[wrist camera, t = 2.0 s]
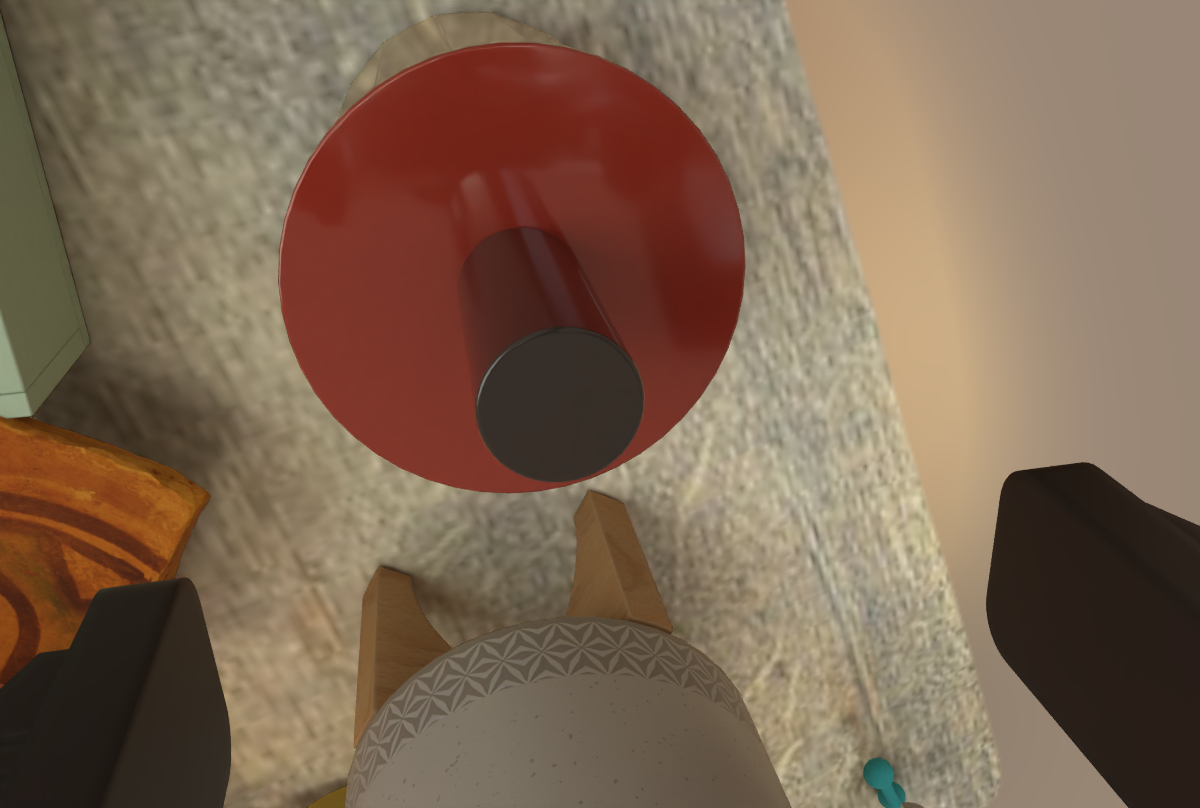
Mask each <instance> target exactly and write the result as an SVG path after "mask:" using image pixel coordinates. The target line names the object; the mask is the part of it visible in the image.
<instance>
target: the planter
mask: <svg viewBox="0 0 1200 808" xmlns="http://www.w3.org/2000/svg"><path fill="white" fill-rule="evenodd" d="M574 522H575V526H576V535H577V556H576V567H575V575H574V582H573V589H572V594H571V598H570V603H569V608H568V612H567V615H566V617H558V618H551V619H544V620H537V621H529V622H525V623H521V624H517V625H514V626H510V627H506V628H502V629H499V630H495V631H492V632H490V633H488V634H485V635H483V636H480V637H478V638H475V639H473V640H470V641H468V642H465V643H463V644H461V645H459V646H458V647H456V648H454V649H453V648H452V647H451V646H450V645H449V644H448V643H447V642H446V641H445V640H444V639H443V638H442V637H441V636H440V635H439V634H438V633H437V632H436V630H435V629H434V628H433V627H432V626H431V624H430V623H429V622H428V620H427V619H426V617H425V616H424V614H423V613H422V611H421V609H420V607H419V605H418V603H417V601H416V599H415V596H414V593H413V590H412V587H411V577H410V576H407V575H404V574H401V573H398V572H394V571H391V570H388V569H385V568H382V567H378V568H377V570H376V572H375V574H374V576H373V578H372V580H371V582H370V584H369V586H368V588H367V590H366V592H365V594H364V596H363V604H362V620H361V636H360V651H359V667H358V683H357V699H356V715H355V731H354V748H356V751H355V755H354V758H353V761H352V764H351V767H350V770H349V774H348V783H347V791H346V801H345V808H792V807H791V805H790V803H789V800H788V798H787V796H786V794H785V792H784V789H783V787H782V785H781V783H780V780H779V778H778V776H777V774H776V771H775V769H774V767H773V765H772V763H771V760H770V758H769V756H768V754H767V751H766V749H765V747H764V745H763V743H762V740H761V738H760V736H759V734H758V731H757V729H756V727H755V725H754V722H753V720H752V718H751V716H750V714H749V711H748V709H747V707H746V705H745V703H744V701H743V699H742V697H741V695H740V693H739V691H738V690H737V688H736V687H735V686H734V684H733V683H732V682H731V680H730V679H729V678H728V676H727V675H726V674H725V673H724V671H723V670H722V669H721V668H719V667H718V666H717V665H716V664H715V663H714V662H713V661H712V660H711V659H709V658H708V657H707V656H706V655H705V654H704V653H702V652H701V651H699V650H698V649H696V648H694V647H693V646H691V645H690V644H688V643H686V642H685V641H683V640H682V639H680V638H677V637H675V636H673V635H671V633H672V632H673V627H672V625H671V622H670V620H669V617H668V615H667V612H666V610H665V607H664V605H663V602H662V599H661V597H660V594H659V592H658V589H657V587H656V584H655V582H654V579H653V577H652V574H651V571H650V569H649V566H648V564H647V561H646V559H645V556H644V554H643V551H642V549H641V546H640V543H639V541H638V538H637V536H636V533H635V531H634V528H633V526H632V523H631V521H630V518H629V515H628V513H627V510H626V508H625V505H624V504H623V503H622V502H619V501H616V500H614V499H611V498H608V497H606V496H603V495H601V494H598V493H595V492H593V491H588V492H587V494H586V496H585V497H584V499H583V501H582V503H581V505H580V506H579V508H578V510H577V512H576V514H575V515H574Z"/></svg>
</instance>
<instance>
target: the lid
mask: <svg viewBox="0 0 1200 808" xmlns="http://www.w3.org/2000/svg"><path fill="white" fill-rule="evenodd" d="M744 278H745V248H744V235H743V230H742V224H741V219H740V214H739V209H738V206H737V203H736V200H735V197H734V194H733V191H732V187H731V184H730V181H729V179H728V177H727V175H726V173H725V171H724V169H723V167H722V165H721V163H720V161H719V159H718V157H717V155H716V153H715V152H714V150H713V149H712V147H711V146H710V144H709V143H708V141H707V140H706V138H705V137H704V136H703V134H702V133H701V131H700V130H699V128H698V127H697V126H696V125H695V124H694V123H693V122H692V121H691V120H690V118H689V117H688V116H687V115H686V114H685V113H684V112H683V111H682V110H681V108H680V107H679V106H678V105H676V104H675V103H674V102H673V101H672V100H670V99H669V98H668V97H667V96H666V95H664V94H663V93H662V92H661V91H660V90H659V89H657V88H656V87H655V86H653V85H652V84H650V83H649V82H647V81H645V80H644V79H642V78H641V77H639V76H637V75H636V74H634V73H633V72H631V71H629V70H628V69H626V68H624V67H622V66H620V65H618V64H615V63H613V62H611V61H609V60H607V59H604V58H602V57H600V56H598V55H595V54H592V53H589V52H585V51H582V50H578V49H575V48H572V47H568V46H565V45H558V44H551V43H544V42H538V41H502V40H499V41H491V42H484V43H476V44H469V45H464V46H460V47H457V48H453V49H450V50H446V51H442V52H439V53H435V54H433V55H430V56H428V57H426V58H423V59H421V60H419V61H417V62H414V63H412V64H410V65H407V66H405V67H403V68H401V69H400V70H398V71H397V72H395V73H393V74H392V75H390V76H388V77H387V78H385V79H384V80H382V81H380V82H379V83H377V84H375V85H374V86H373V87H372V88H371V89H369V90H368V91H367V92H366V93H365V94H363V95H362V96H361V97H360V98H358V99H357V100H356V101H355V102H354V103H352V104H351V105H350V106H349V107H348V108H347V109H346V111H345V112H344V113H343V114H342V115H341V116H340V117H339V118H338V119H337V120H336V121H335V123H334V124H333V125H332V126H331V127H330V128H329V129H328V131H327V132H326V134H325V135H324V136H323V138H322V139H321V141H320V142H319V144H318V145H317V147H316V148H315V150H314V151H313V153H312V154H311V156H310V157H309V159H308V162H307V164H306V166H305V168H304V170H303V172H302V174H301V176H300V178H299V180H298V182H297V184H296V186H295V188H294V191H293V194H292V197H291V200H290V204H289V207H288V210H287V213H286V216H285V219H284V224H283V230H282V236H281V242H280V248H279V270H278V284H279V293H280V301H281V310H282V315H283V319H284V323H285V326H286V330H287V334H288V338H289V341H290V344H291V346H292V349H293V351H294V353H295V356H296V358H297V361H298V363H299V366H300V368H301V370H302V371H303V373H304V375H305V377H306V378H307V380H308V382H309V383H310V385H311V387H312V389H313V390H314V392H315V394H316V395H317V396H318V398H319V399H320V400H321V401H322V403H323V404H324V405H325V407H326V408H327V409H328V410H329V412H330V413H331V414H332V416H333V417H334V418H335V419H336V420H337V421H338V422H339V423H340V424H341V425H342V426H343V427H344V428H345V429H346V430H347V431H348V432H350V433H351V434H352V435H353V436H354V437H355V438H356V439H357V440H359V441H360V442H361V443H363V444H364V445H365V446H367V447H368V448H369V449H371V450H372V451H373V452H375V453H376V454H377V455H379V456H381V457H383V458H384V459H386V460H388V461H389V462H391V463H393V464H395V465H396V466H398V467H400V468H401V469H404V470H406V471H409V472H411V473H413V474H416V475H418V476H420V477H423V478H425V479H427V480H431V481H434V482H438V483H441V484H444V485H448V486H451V487H455V488H461V489H467V490H473V491H479V492H493V493H521V492H536V491H543V490H548V489H553V488H559V487H564V486H568V485H571V484H574V483H578V482H581V481H584V480H587V479H591V478H593V477H596V476H598V475H600V474H602V473H605V472H607V471H609V470H612V469H614V468H616V467H618V466H620V465H622V464H623V463H625V462H627V461H628V460H630V459H632V458H634V457H635V456H637V455H639V454H641V453H642V452H643V451H645V450H646V449H647V448H649V447H650V446H651V445H653V444H654V443H655V442H657V441H658V440H659V439H661V438H662V437H663V436H664V435H665V434H667V433H668V432H669V431H670V430H671V429H672V428H673V427H674V426H675V425H676V424H677V423H678V422H679V421H680V420H681V419H682V418H683V417H684V416H685V415H686V414H687V413H688V411H689V410H690V409H691V408H692V407H693V405H694V404H695V403H696V402H697V401H698V399H699V398H700V397H701V396H702V394H703V393H704V391H705V389H706V388H707V386H708V385H709V383H710V382H711V380H712V379H713V377H714V376H715V374H716V372H717V370H718V368H719V366H720V364H721V362H722V360H723V358H724V356H725V354H726V352H727V350H728V348H729V345H730V342H731V339H732V336H733V333H734V330H735V327H736V324H737V321H738V317H739V312H740V307H741V302H742V298H743V290H744Z"/></svg>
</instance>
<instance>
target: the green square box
mask: <svg viewBox="0 0 1200 808" xmlns="http://www.w3.org/2000/svg"><path fill="white" fill-rule="evenodd" d="M89 343H90V339H89V336H88V332H87V328H86V325H85V321H84V317H83V314H82V310H81V306H80V303H79V299H78V295H77V292H76V288H75V284H74V281H73V277H72V273H71V270H70V266H69V263H68V259H67V255H66V252H65V248H64V244H63V241H62V237H61V233H60V230H59V226H58V222H57V219H56V215H55V211H54V208H53V204H52V200H51V197H50V193H49V189H48V186H47V182H46V178H45V175H44V171H43V167H42V164H41V160H40V156H39V153H38V149H37V145H36V142H35V138H34V134H33V131H32V127H31V123H30V120H29V116H28V112H27V109H26V105H25V101H24V98H23V94H22V90H21V87H20V83H19V79H18V76H17V72H16V68H15V65H14V61H13V57H12V54H11V50H10V46H9V43H8V39H7V35H6V32H5V28H4V24H3V21H2V17H1V13H0V416H1V417H4V418H6V419H9V418H19V417H28V416H33V415H34V413H35V412H36V411H37V410H38V408H39V407H40V406H41V405H42V403H43V402H44V401H45V399H46V398H47V397H48V396H49V394H50V393H51V392H52V391H53V389H54V388H55V387H56V386H57V384H58V383H59V382H60V380H61V379H62V378H63V377H64V375H65V374H66V373H67V372H68V370H69V369H70V368H71V366H72V365H73V364H74V363H75V361H76V360H77V359H78V358H79V356H80V355H81V354H82V352H83V351H84V350H85V348H86V347H87V346H88V345H89Z"/></svg>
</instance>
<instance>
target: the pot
mask: <svg viewBox="0 0 1200 808" xmlns="http://www.w3.org/2000/svg"><path fill="white" fill-rule="evenodd" d="M499 40H502V41H538V42H544V43H551V44H558V45H564V44H562V43H561V42H559V41H557V40H556V39H554V38H553V37H551V36H549V35H548V34H546V33H545V32H543V31H541V30H539V29H536V28H533V27H531V26H528V25H525V24H523V23H520V22H518V21H516V20H513V19H509V18H506V17H504V16H501V15H498V14H496V13H490V12H460V13H452V14H443V15H435V16H431V17H429V18H427V19H425V20H423V21H421V22H419V23H417V24H414V25H412V26H410V27H408V28H406V29H405V30H403V31H401V32H400V33H398V34H397V35H395V36H393V37H391V38H389V39H387V40H386V41H385V42H383V43H382V44H381V46H380V47H379V48H378V50H377V51H376V52H375V53H374V55H373V56H372V57H371V58H370V59H369V60H368V61H367V63H366V64H365V66H364V67H363V69H362V70H361V71H360V72H359V74H358V75H357V76H356V78H355V79H354V80H353V81H352V83H351V84H350V87H349V88H348V91H347V94H346V96H345V99H344V101H343V104H342V107H341V109H340V112H339V114H338V117H337V119H338V118H339V117H340V116H341V115H342V114H343V113H344V112H345V111H346V109H347V108H348V107H349V106H350V105H351V104H352V103H354V102H355V101H356V100H357V99H358V98H360V97H361V96H362V95H363V94H365V93H366V92H367V91H368V90H369V89H371V88H372V87H373V86H374V85H375V84H377V83H379V82H380V81H382V80H384V79H385V78H387V77H388V76H390V75H392V74H393V73H395V72H397V71H398V70H400V69H401V68H403V67H405V66H407V65H410V64H412V63H414V62H417V61H419V60H421V59H423V58H426V57H428V56H430V55H433V54H435V53H439V52H442V51H446V50H450V49H453V48H457V47H460V46H464V45H469V44H476V43H484V42H491V41H499Z"/></svg>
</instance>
